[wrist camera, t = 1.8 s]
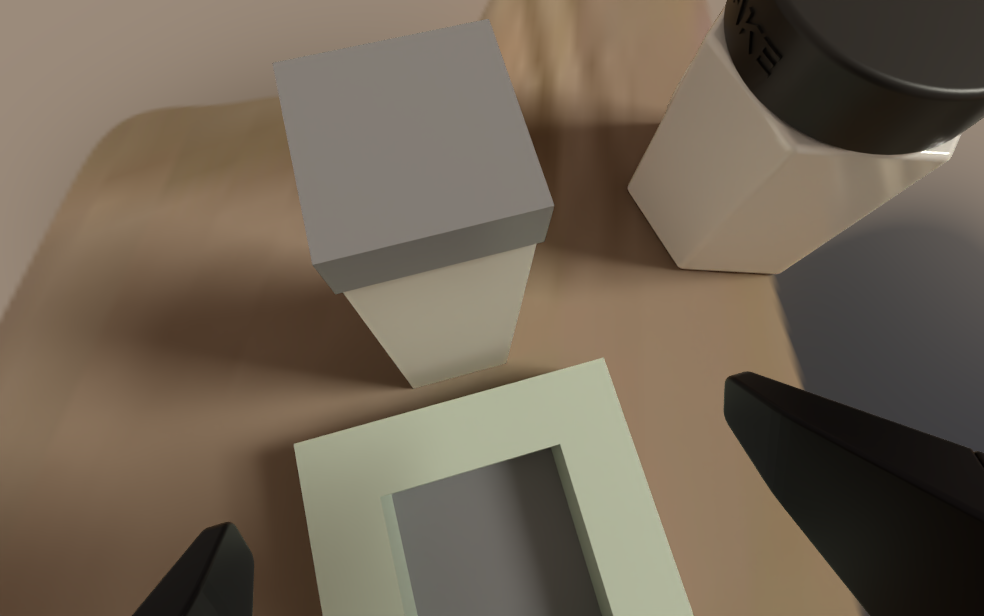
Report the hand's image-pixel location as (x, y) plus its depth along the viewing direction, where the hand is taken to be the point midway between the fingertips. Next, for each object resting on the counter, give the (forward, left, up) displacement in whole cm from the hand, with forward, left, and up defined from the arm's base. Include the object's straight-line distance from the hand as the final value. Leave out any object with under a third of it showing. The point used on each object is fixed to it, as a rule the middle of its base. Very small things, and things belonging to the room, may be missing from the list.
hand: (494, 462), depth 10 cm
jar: (+9, -14, -13) cm, 21 cm away
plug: (+6, 0, -12) cm, 14 cm away
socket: (-3, 0, -12) cm, 13 cm away
